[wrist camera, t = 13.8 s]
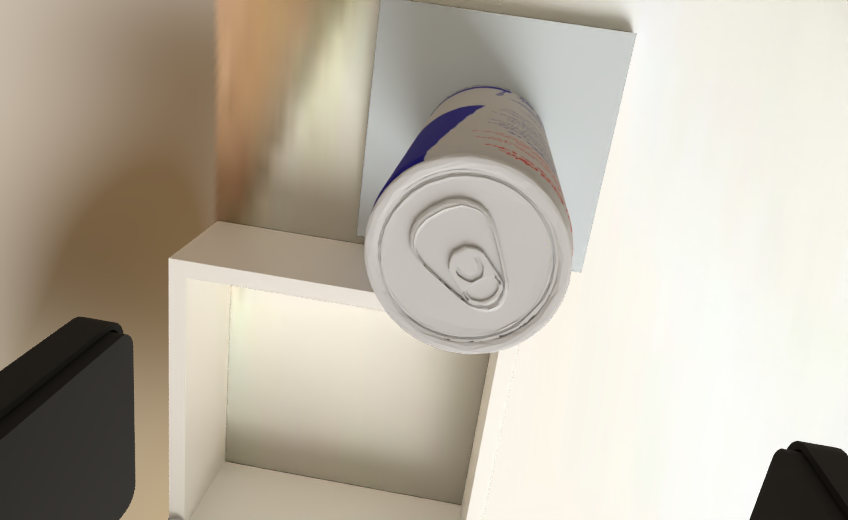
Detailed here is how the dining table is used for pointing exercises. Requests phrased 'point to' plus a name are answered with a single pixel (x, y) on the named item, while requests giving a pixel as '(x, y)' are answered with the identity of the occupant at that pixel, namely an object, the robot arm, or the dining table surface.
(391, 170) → the mat
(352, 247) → the case
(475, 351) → the beverage can
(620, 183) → the dining table surface
